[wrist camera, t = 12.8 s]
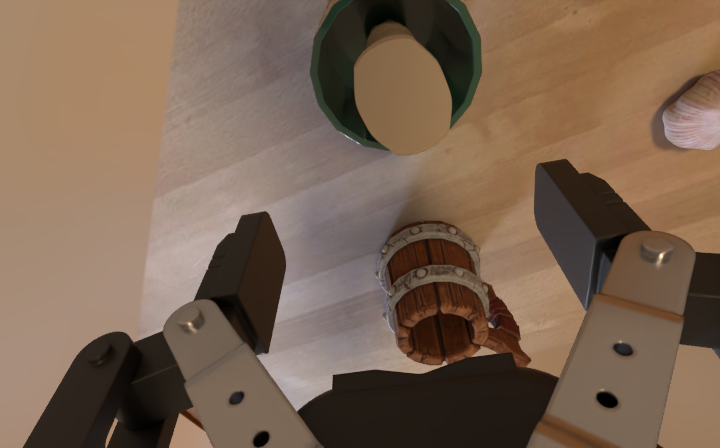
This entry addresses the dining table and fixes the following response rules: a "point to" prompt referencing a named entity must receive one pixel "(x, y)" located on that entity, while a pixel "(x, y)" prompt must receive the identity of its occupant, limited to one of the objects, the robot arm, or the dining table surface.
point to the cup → (348, 40)
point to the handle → (401, 91)
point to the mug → (442, 297)
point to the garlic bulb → (696, 115)
